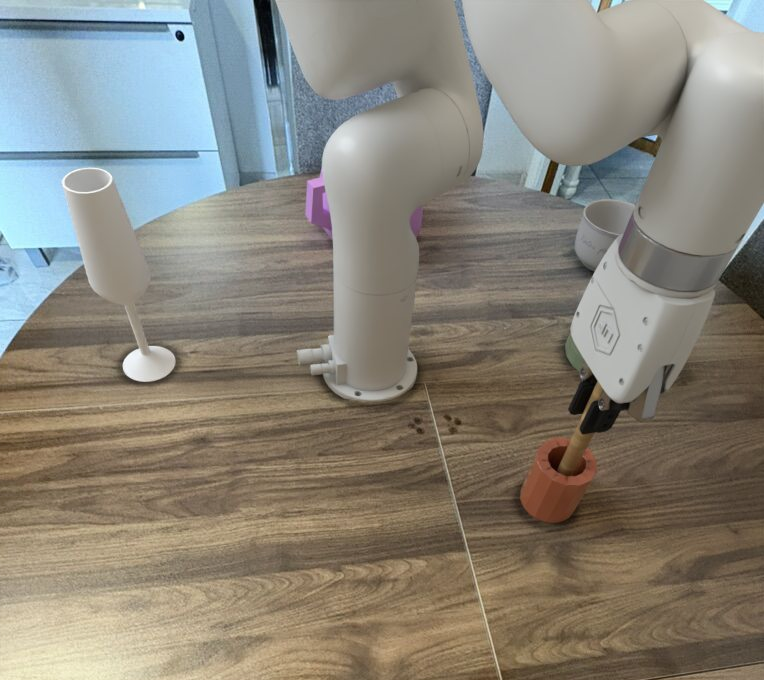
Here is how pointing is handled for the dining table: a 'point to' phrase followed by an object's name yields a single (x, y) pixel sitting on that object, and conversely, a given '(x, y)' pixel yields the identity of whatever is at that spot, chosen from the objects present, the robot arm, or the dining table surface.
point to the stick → (578, 440)
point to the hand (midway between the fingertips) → (589, 419)
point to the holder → (555, 482)
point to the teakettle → (321, 215)
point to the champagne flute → (114, 260)
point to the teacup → (601, 229)
